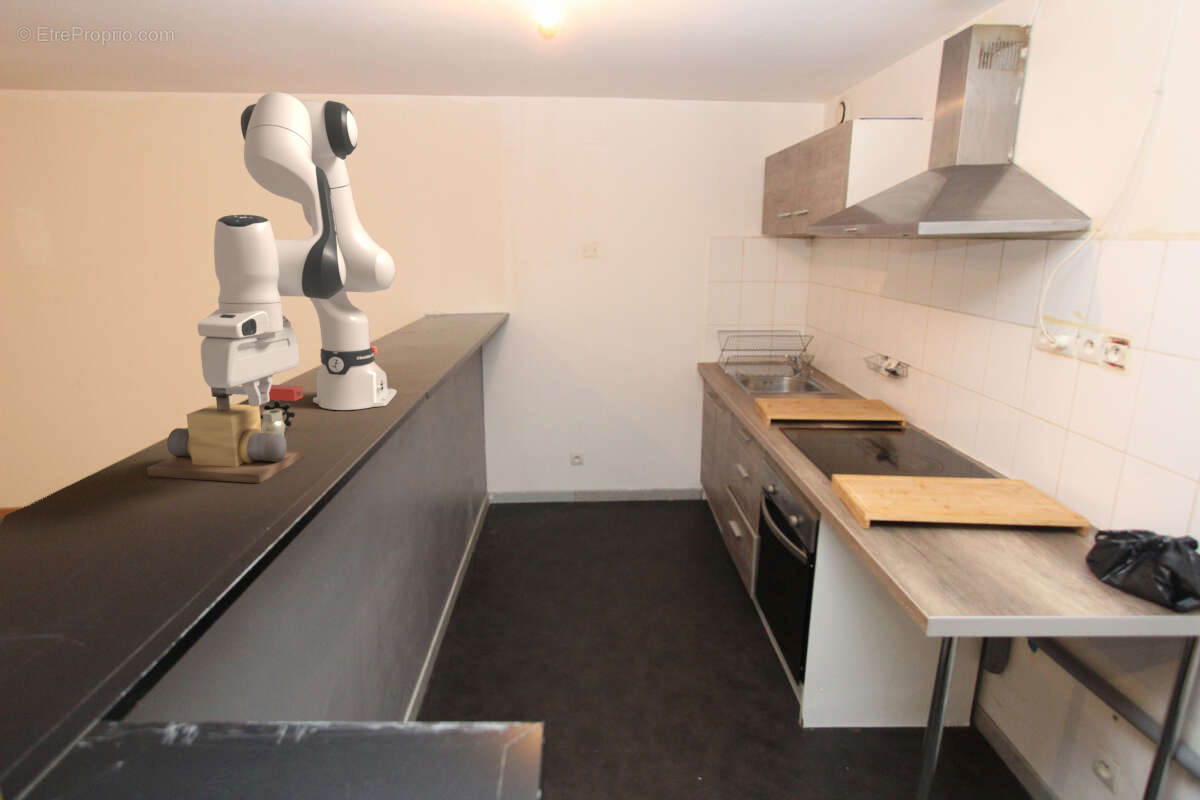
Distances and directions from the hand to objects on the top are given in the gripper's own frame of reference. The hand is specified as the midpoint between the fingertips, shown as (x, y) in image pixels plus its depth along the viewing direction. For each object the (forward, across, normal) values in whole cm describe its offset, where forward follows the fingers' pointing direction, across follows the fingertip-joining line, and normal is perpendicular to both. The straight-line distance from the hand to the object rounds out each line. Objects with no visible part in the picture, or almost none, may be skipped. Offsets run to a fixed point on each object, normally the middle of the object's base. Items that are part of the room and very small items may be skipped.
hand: (259, 404), depth 105 cm
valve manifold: (+14, -7, -11) cm, 19 cm away
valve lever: (0, -7, -5) cm, 8 cm away
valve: (+14, -25, -13) cm, 31 cm away
